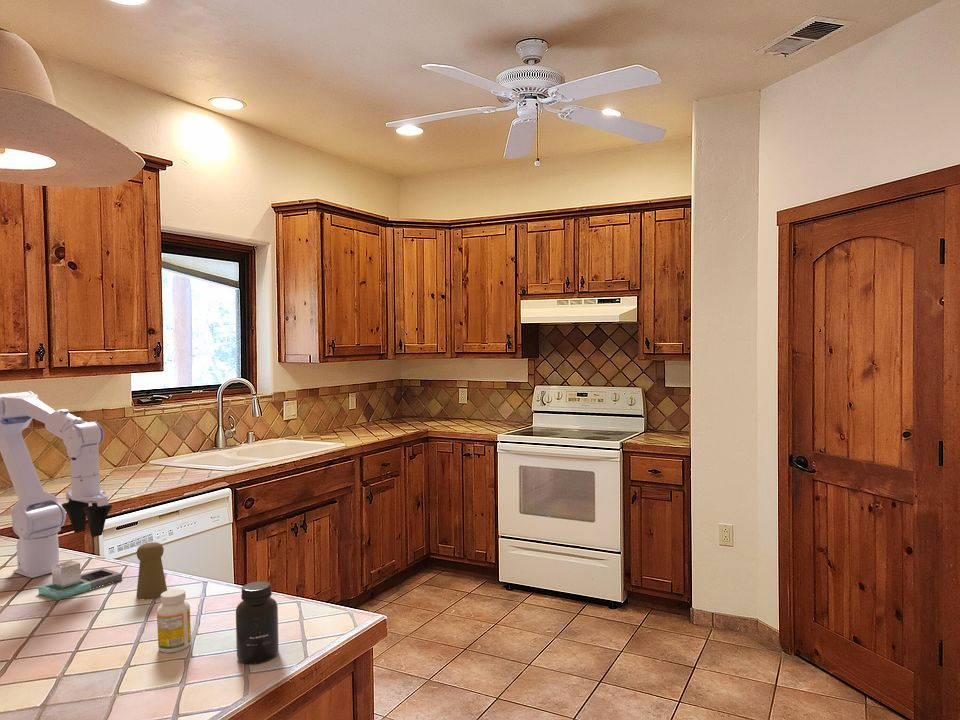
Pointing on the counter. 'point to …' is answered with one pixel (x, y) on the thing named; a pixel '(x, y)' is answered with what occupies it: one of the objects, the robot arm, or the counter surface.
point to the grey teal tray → (82, 584)
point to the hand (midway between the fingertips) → (88, 533)
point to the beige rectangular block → (66, 575)
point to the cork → (150, 571)
